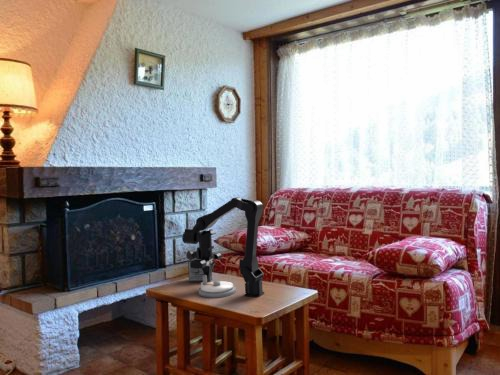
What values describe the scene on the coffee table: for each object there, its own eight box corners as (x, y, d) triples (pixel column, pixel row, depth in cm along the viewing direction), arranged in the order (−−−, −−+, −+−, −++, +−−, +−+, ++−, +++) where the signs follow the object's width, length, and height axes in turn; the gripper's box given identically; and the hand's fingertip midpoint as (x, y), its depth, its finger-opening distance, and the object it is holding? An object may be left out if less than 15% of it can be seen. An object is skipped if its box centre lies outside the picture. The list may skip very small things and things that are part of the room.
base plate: (241, 288, 188) (241, 281, 188) (224, 299, 174) (223, 290, 173) (210, 285, 195) (210, 278, 195) (191, 295, 181) (191, 287, 180)
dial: (238, 285, 188) (238, 273, 187) (223, 293, 175) (223, 281, 175) (211, 282, 193) (210, 271, 193) (194, 290, 181) (194, 278, 181)
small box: (212, 278, 208) (211, 257, 208) (210, 282, 202) (209, 260, 201) (191, 278, 209) (190, 257, 209) (188, 282, 203) (187, 260, 203)
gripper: (200, 239, 199) (201, 272, 200) (178, 248, 182) (180, 283, 183) (221, 240, 195) (222, 274, 196) (200, 249, 178) (202, 285, 179)
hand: (207, 279), depth 189 cm, fingers closed
